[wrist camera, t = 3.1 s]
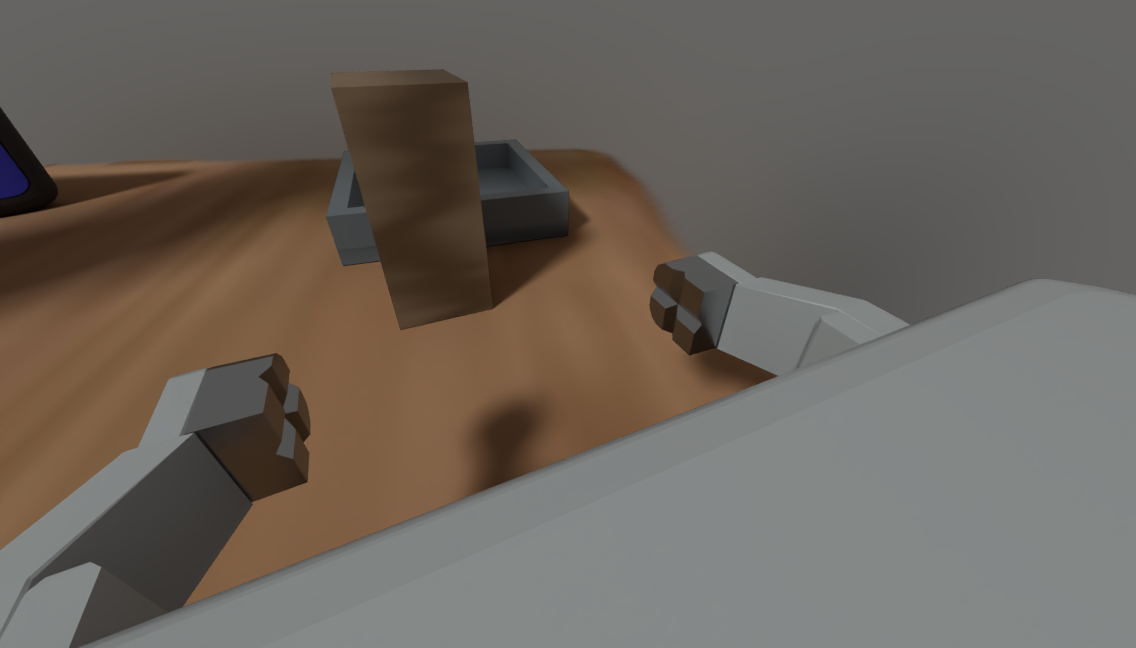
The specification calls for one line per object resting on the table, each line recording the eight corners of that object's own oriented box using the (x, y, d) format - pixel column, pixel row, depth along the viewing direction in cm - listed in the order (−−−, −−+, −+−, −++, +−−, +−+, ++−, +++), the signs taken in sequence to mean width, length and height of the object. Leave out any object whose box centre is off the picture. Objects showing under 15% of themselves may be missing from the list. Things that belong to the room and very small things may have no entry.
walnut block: (400, 329, 20) (330, 87, 14) (390, 284, 23) (330, 72, 17) (493, 308, 21) (467, 82, 15) (471, 268, 24) (443, 69, 18)
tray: (343, 265, 24) (326, 216, 22) (355, 188, 35) (344, 150, 33) (568, 234, 28) (568, 191, 26) (517, 173, 39) (515, 139, 37)
